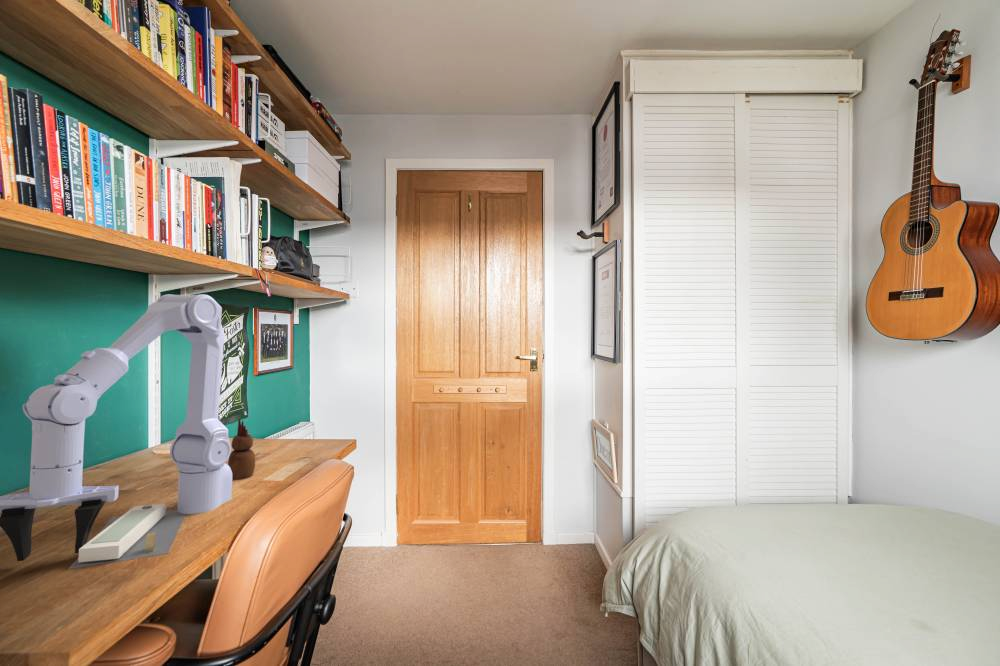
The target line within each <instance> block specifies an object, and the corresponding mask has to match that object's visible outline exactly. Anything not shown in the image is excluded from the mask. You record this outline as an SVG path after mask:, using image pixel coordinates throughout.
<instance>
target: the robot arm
mask: <svg viewBox="0 0 1000 666" xmlns="http://www.w3.org/2000/svg"><path fill="white" fill-rule="evenodd" d="M222 312H223V307H222V306H221V305H220V304H219V303H218V302H217V301H216V300H215V298H213V297H212V296H210V295H208V294H204V293H203V294H201V293H200V294H171V293H169V294H164V295H161V296H160V297H158V298H157V300H156V301H154V302H153V303H150V304H149V305H148V306H147V310H146V312H145V313H144V314H142V316H141V317H140V318H138V319H137V320H136V321H135V323H133V324H132V325H131V326H130V327H129V328H128V329H127V330H126V331H125V332H123V334H122V335H120V336H119V337H118V338H117V340H114V342H113V343H112V344H111V345H110V346H109V347H107V348H106V347H98V348H94V349H92V350H85V351H84V352H83V353H82V354H80V357H81V358H82V359H80V360H79V361H78V362H77V363H76V364H75V365H73V366H72V367H71V368H70V369H68V370H67V371H65V372H64V373H63V374H58V375H56V377H55V378H54V382H53V384H47V385H43V386H41V387H40V386H39V388H37V389H36V390H34V391H33V392H32V393H31V394H30V395H29V397H28V400H27V401H26V403H23V404H22V411H23V413H24V415H25V416H26V417H27V418H28V419H29V421H31V431H32V432H31V450H30V451H31V454H30V473H29V488H28V489H29V490H28V492H23V493H21V492H20V493H14V494H10V495H3V496H2V495H1V496H0V513H1V514H0V528H1V529H2V530H3V531H4V533H5V535H6V536H7V537H8V539H9V541H10V543H11V544H12V546H13V549H14V553H15V556H16V561H17V562H22V561H25V560H26V559H27V558H28V557H29V556H31V552H32V530H33V529H32V528H33V523H34V517H35V513H36V512H35V511H36V509H39V508H51V507H58V506H59V507H61V506H69V505H77V504H81V505H79V506H78V507H77V508H75V509H74V517H75V526H76V528H75V529H76V534H75V544H74V553H75V554H79V549H80V548H81V547H82V546H84V545H85V544H86V543H88V539H89V535H90V533H91V530H92V527H93V526H94V523H95V521H96V519H97V517H98V515H99V514H100V512H101V510H102V508H103V507H104V505H105V503H111V502H115V501H116V500H118V498H119V493H120V492H119V489H120V488H119V487H120V486H119V485H109V486H108V485H107V486H106V485H105V486H104V485H103V486H102V485H101V486H100V485H99V486H98V485H97V486H95V485H94V486H88V485H87V486H83V472H84V471H83V469H84V451H85V449H84V447H85V446H84V445H85V432H86V431H85V428H86V419H87V418H89V417H91V416H93V415H94V413H95V411H96V409H97V404H98V401H99V399H100V398H101V397H102V395H103V394H104V393H105V392H106V391H108V390H109V389H110V388H111V387H112V386H114V384H116V382H118V381H119V380H120V379H121V378H122V377H124V375H125V374H126V373H127V372H128V371H129V369H130V368H129V360H131V359H132V358H133V357H135V356H136V355H137V354H139V353H140V352H141V351H142V350H144V349H145V348H146V347H147V346H149V345H150V344H151V343H153V342H154V341H155V340H156V339H158V338H159V337H160V336H162V334H164V333H166V332H168V331H176V332H177V333H179V334H181V335H183V337H185V338H186V339H187V340H188V341H189V342H190V344H191V350H190V365H189V379H188V390H187V402H186V403H187V404H186V415H185V421H184V422H182V424H180V425H179V426H178V427H177V428H176V429H175V430H176V431H175V437H174V439H173V441H172V443H171V446H170V448H169V449H170V450H169V455H170V459H171V461H172V462H174V464H176V469H178V479H177V481H178V482H177V506H176V507H177V508H176V509H177V511H178V512H179V513H182V514H186V515H197V514H198V515H199V514H202V513H207V512H210V511H213V510H216V509H218V508H219V507H220V506H221V505H223V504H225V503H227V502H229V501H231V500H232V495H233V493H232V492H233V479H232V471H231V468H230V467H229V466H228V463H227V462H228V460H229V456H230V454H231V452H232V443H231V442H230V439H229V429H228V428H227V427H226V426H225V424H223V423H222V422H221V420H220V419H219V412H220V400H221V399H220V398H221V383H222V371H223V370H222V369H223V357H224V347H225V346H224V344H225V343H224V342H225V333H224V329H223V325H222Z"/></svg>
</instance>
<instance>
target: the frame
mask: <svg viewBox="0 0 1000 666" xmlns="http://www.w3.org/2000/svg"><path fill="white" fill-rule="evenodd" d="M166 511H167V503H159V504H157V503H156V504H147V505H145V504H143V505H134V506H132V507H131V508H130V509H128V510H127V511H126V512H125V513H124V514H123V515H120V516H121V517H120V518H119V519H117V520H116V521H115V522H113V523H112V524H111V525H110V526H108V527H107V528H106V529H104V530H103V531H102V532H100V531H99V532H100V533H99V532H98V533H99V534H98V533H97V534H98V535H97V534H96V535H95V536H94V537H93V538H91V539H90V540H89V541H87V543H86V544H85V545H84V546H82V547H81V548H80V549H79V553H78V557H79V558H78V557H77V558H78V562H88V561H98V560H108V559H118V558H120V557H121V556H122V555H123V554H124V553H125V552H126V551H127V550H128V549H129V548H130V547H131V546H132V545H133V544H134V543H135V542H137V541H138V540H139V539H140V538H141V537H142V536H143V535H144V534H145V533H146V532H147V531H148V530H149V529H150V528H151V527H152V526H154V525H155V524H156V523H157V522H158V521H159V520H160V519H161V518H162V517H163V516H164V515H165V513H166Z"/></svg>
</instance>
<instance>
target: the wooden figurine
mask: <svg viewBox="0 0 1000 666" xmlns="http://www.w3.org/2000/svg"><path fill="white" fill-rule="evenodd" d="M253 444H254V437H253V436H252V434H249V431H248V429H247V426H246V425H244V421H242V420H241V418H238V423H237V433H236V435H234V436H233V438H232V440H231V449H233V450H231V453H230V456H229V458H228V460H227V465H228V466H229V467H230V468H231V471H232V480H244V479H249V478H251V477H253V475H254V472H255V469H256V467H255V466H256V457H255V452H254V451H253V450H252V449H251V448H252V447H253Z"/></svg>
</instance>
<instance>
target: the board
mask: <svg viewBox="0 0 1000 666" xmlns="http://www.w3.org/2000/svg"><path fill="white" fill-rule="evenodd" d="M186 515H187V514H182V513H179V512H178V511H177V508H176V509H169V510H166V513H165V515H164V516H163V517H162V518H161V519H160V520H159V521H158V522H157V523H156V524H155V525H154V526H152V527H151V528H150V529H149V530H148V531H147V532H146V533H145V534H144V535H143V536H142V537H141V538H140V539H139V540H138V541H137V542H135V543H134V544H133V545H132V546H131V547H130V548H129V549H128V550H127V551H126V552H125V553H124V554H123V555H122V556H121V557H120V558H118V559H108V560H98V561H88V562H78V558H79V556H78V557H77V558H76V559H75V560H74V562H73V563H72V564H71V565H70V567H69V568H68V570H72V569H73V570H74V569H79V568H85V567H92V566H99V565H104V564H111V563H117V562H125V561H129V560H130V561H131V560H136V559H137V560H138V559H142V558H149V557H155V556H156V557H157V556H162V555H168V554H169V552H170V550H171V548H172V545H173V543H174V541H175V540H176V536H177V534H178V533H179V529H180V528H181V525H182V523H183V521H184V520H185V516H186ZM121 516H122V515H120V516H112V517H110V519H109V520H108V522H107V523H106V524H105V525H104V526H103V527H102V528H101V529H100V531H99V532H98V533H97V534H96V536H97V535H98V534H99V533H100V532H102V531H103V530H104V529H106V528H107V527H108V526H110V525H111V524H112V523H113V522H115V521H116V520H117V519H119V518H120V517H121Z"/></svg>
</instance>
